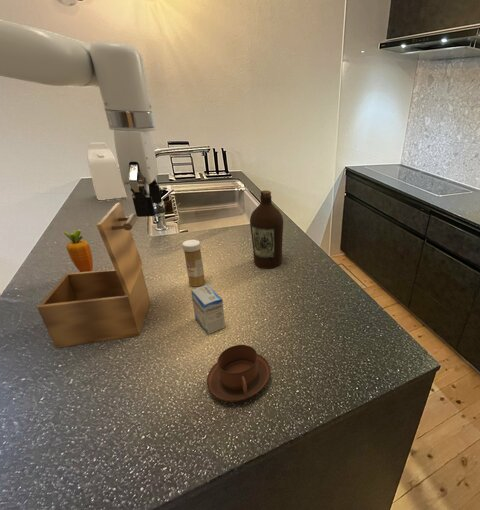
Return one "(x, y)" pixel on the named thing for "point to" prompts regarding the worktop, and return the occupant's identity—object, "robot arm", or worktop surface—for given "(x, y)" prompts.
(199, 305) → the medicine box
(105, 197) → the milk
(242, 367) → the cup and saucer
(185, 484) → the worktop surface
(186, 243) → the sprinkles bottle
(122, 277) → the lid
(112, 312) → the chest
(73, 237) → the carrot
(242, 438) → the worktop surface
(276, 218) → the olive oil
